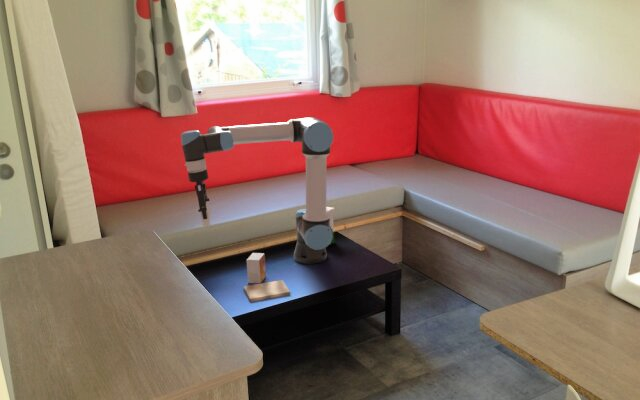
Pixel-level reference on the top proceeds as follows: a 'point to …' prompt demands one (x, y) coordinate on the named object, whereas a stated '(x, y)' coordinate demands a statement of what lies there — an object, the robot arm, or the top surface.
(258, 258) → the small box
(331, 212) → the milk carton
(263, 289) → the birch board
